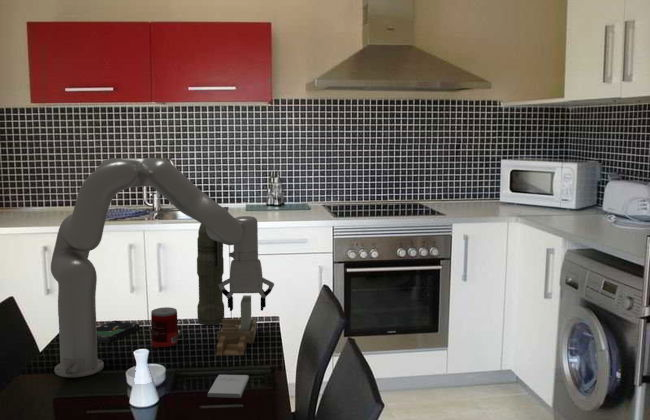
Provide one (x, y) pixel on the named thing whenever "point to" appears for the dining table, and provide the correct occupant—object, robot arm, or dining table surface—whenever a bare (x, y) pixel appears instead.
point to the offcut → (229, 327)
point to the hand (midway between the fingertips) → (246, 309)
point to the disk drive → (115, 331)
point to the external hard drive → (228, 386)
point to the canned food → (164, 327)
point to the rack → (238, 331)
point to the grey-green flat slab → (246, 313)
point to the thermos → (209, 279)
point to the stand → (231, 347)
